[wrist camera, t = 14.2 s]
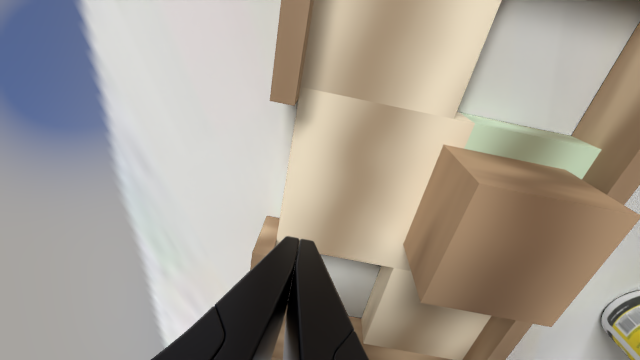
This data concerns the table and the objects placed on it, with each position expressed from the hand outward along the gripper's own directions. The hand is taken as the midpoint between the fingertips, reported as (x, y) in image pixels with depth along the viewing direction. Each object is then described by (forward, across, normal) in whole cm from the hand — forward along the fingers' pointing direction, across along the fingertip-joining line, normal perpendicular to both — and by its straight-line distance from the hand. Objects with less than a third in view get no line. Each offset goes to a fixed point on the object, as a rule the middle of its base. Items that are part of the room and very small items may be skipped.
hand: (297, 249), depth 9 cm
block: (+6, -9, +1) cm, 11 cm away
